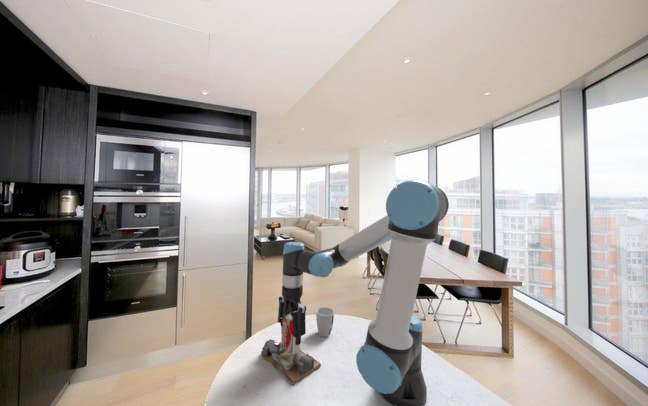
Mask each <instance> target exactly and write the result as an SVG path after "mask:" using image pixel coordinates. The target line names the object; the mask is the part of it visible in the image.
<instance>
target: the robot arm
mask: <svg viewBox="0 0 648 406" xmlns="http://www.w3.org/2000/svg"><path fill="white" fill-rule="evenodd" d="M449 207H450V205H449V199H448V196H447V194H446V193H445V191H443V190H442V188H441V187H438V186H437V185H434V184H431V183H429V182H428V181H424V180H423V181H422V180H416V179H414V180H413V179H412V180H405V181H402V182H400V183H398V184H397V185H395V186H394V187H393V188H392V190H391V191H390V192H389V193H388V195H387V198H386V202H385V210H386V211H385V212H386V215H385V216H384V217H381V218H380V219H378V220H377V221H375V222H373V223H372V224H370V225H368V226H367V227H365V228H363V229H362V230H360V231H358V232H356V233H355V234H353V235H351V236H350V237H347V238H346V239H344V240H343V241H341V242H339V243H338V244H336V245H335V246H332V247H331V248H327V249H322V250H318V251H312V250H306V249H305V244H304V243H303V242H301V241H300V242H299V241H289V242H286V243H284V245H283V251H282V252H283V253H282V274H281V275H282V279H281V280H282V281H281V284H282V285H281V296H278V313H277V323H279V324H280V327H281V328H280V329H281V330H280V331H281V332H280V333H281V338H280V339H281V340H280V342H281V345H282V328H283V319H284V317H285V315H286V314H289V313H291V316H292V319H293V326H294V333H295V334H294V335H293V352H292V354H295V353H296V352H298V351H300V348H301V343H302V342H301V341H302V336H305V335H306V331H307V330H306V312H307V306H306V305H302V302H301V298H302V296H303V289H304V286H303V283H304V273H305V274H309V275H311V276H314V277H317V278H319V277H320V278H326V277H329V275H330V274H331V273H332V271H333V270H334V269H336V268H340V267H341V268H342V267H344V266H346V265H347V264H348V263H350V262H351V261H353V260H355V259H356V258H358V257H361V256H362V255H364V254H366V253H368V252H370V251H372V250H374V249H376V248H378V247H380V246H382V245H384V244H385V243H387V242H390V245H389V250H388V255H387V261H386V266H385V272H384V275H383V281H382V287H381V291H380V296H379V301H378V306H377V311H376V317H375V319H373V320H371V321H370V322H369V324H368V327H367V331H366V337H365V341H364V344H363V345H361V346H360V347H359V349H358V351H357V353H356V357H355V360H356V362H355V363H356V367H357V369H358V372H359V374H360V375H361V377H362V379H363V380H364V382H365V383H366V384H367V385H368V386H369V387H370V388H371V389H373V390H374V391H376V392H378V393H379V394H380V396H381V397H382V398H383V399H384V400H385V401H386V402H388V403H389V404H390V405H394V406H424V405H425V403H426V401H427V396H428V394H427V391H428V390H427V385H426V381H425V376H424V374H423V370H422V357H423V356H422V353H423V350H422V349H423V334H424V333H423V332H424V331H423V323H422V321H421V320H420V318H419V317H416V316H415V315H414V314H413V313H414V308H415V304H416V303H415V302H416V299H417V294H418V290H419V289H418V288H419V284H420V280H421V275H422V270H423V266H424V261H425V256H426V252H427V251H426V250H427V247H428V245H429V244H430V243H432V242H434V241H436V237H437V233H438V228H439V225H440V224H439V223H440V222H441V221H442V220H443V219H444V218H445V217H446V215H447V214H448V211H449Z"/></svg>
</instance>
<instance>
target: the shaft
mask: <svg viewBox="0 0 648 406" xmlns="http://www.w3.org/2000/svg"><path fill="white" fill-rule="evenodd" d="M275 340H276V339H275ZM275 340H274V339H269V340H266V341H265V343H264V345H263V347H262V350H261V351H262V355H261V357H262V358H264V357H266V358H267V357H268V356H269V355H270V354H272V353H275V354H278V355H280V350H281V348H282V345H281V343H280V342H277V341H275Z"/></svg>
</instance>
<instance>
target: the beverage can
mask: <svg viewBox="0 0 648 406" xmlns="http://www.w3.org/2000/svg"><path fill="white" fill-rule="evenodd" d="M294 334H295V333H294V326H293V319H292V316H291V313H289V314H286V315H285V317H284V319H283V328H282V334H281V336H282V349H283V350H284V351H286V352H288V353H291V352H293V335H294Z"/></svg>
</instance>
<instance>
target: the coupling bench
mask: <svg viewBox="0 0 648 406" xmlns="http://www.w3.org/2000/svg"><path fill="white" fill-rule="evenodd" d="M279 343H281V341H280V342H279ZM260 353H261V356H262V350H261V352H260ZM263 358H264V359H265V360H266V361H267V362H268V363H270V364H271V365H272V366H273V367H274V368H275V369H276V370H277V371H278V372H279V373H280V374H281V375H283V377H284V378H285V379H286V380H288V381H289V382H290V384H292V385H293V386H294V385H296V384H297V383H299V382H300V381H301V380H303V379H304V378H306V377H308V376H309V375H311V374H312V373H314V372H315V371H317V370H318V369H320V368H321V367H322V366H321V365H322V364H321V362H319V361H318V360H316V359H315V357H313V356H312V355H310V354H309V353H308V352H307V351H305V350H304V349H303V348H302V347H300V351H298V352H296V353H295V354H292V352H291V353H288V352H286V351H284V350H283V349H282V348H281V350H280V355H278V354H275V353H272V354H270V355H269V356H268V357H267V358H266V357H263Z"/></svg>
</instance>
